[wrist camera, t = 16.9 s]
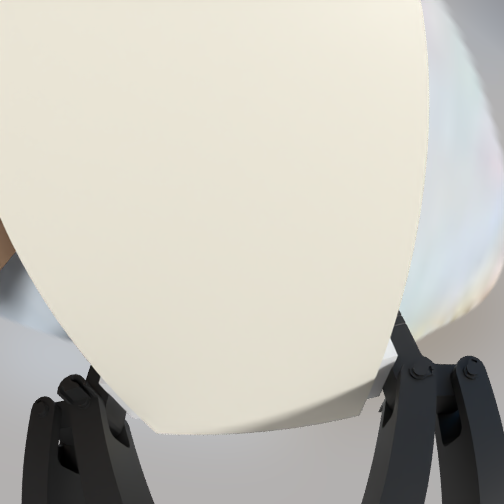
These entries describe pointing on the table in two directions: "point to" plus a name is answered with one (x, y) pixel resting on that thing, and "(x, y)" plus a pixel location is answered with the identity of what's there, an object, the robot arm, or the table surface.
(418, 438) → the robot arm
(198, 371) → the thick cream rectangular block
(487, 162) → the table surface
